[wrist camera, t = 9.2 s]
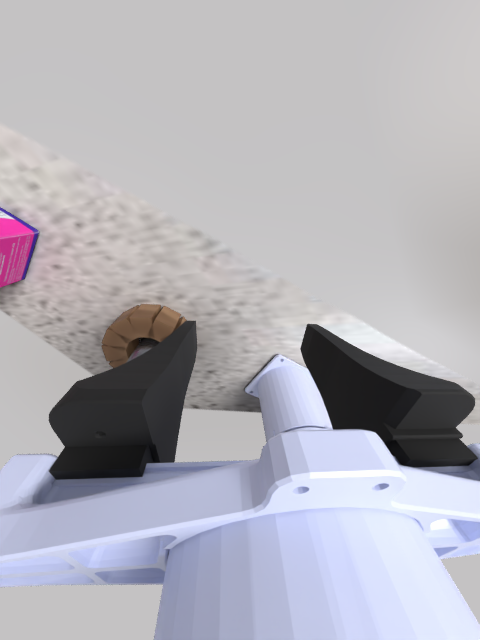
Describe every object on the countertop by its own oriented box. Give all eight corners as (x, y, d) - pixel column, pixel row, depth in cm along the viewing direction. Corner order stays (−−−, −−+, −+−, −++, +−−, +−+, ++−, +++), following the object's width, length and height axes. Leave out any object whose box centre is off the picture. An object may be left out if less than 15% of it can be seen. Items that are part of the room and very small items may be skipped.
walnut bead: (208, 328, 23) (205, 343, 20) (176, 375, 26) (170, 393, 24) (132, 289, 20) (118, 301, 18) (107, 348, 24) (92, 365, 21)
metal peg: (172, 334, 23) (157, 370, 18) (163, 350, 24) (146, 388, 19) (150, 324, 22) (127, 358, 17) (141, 341, 23) (117, 378, 18)
